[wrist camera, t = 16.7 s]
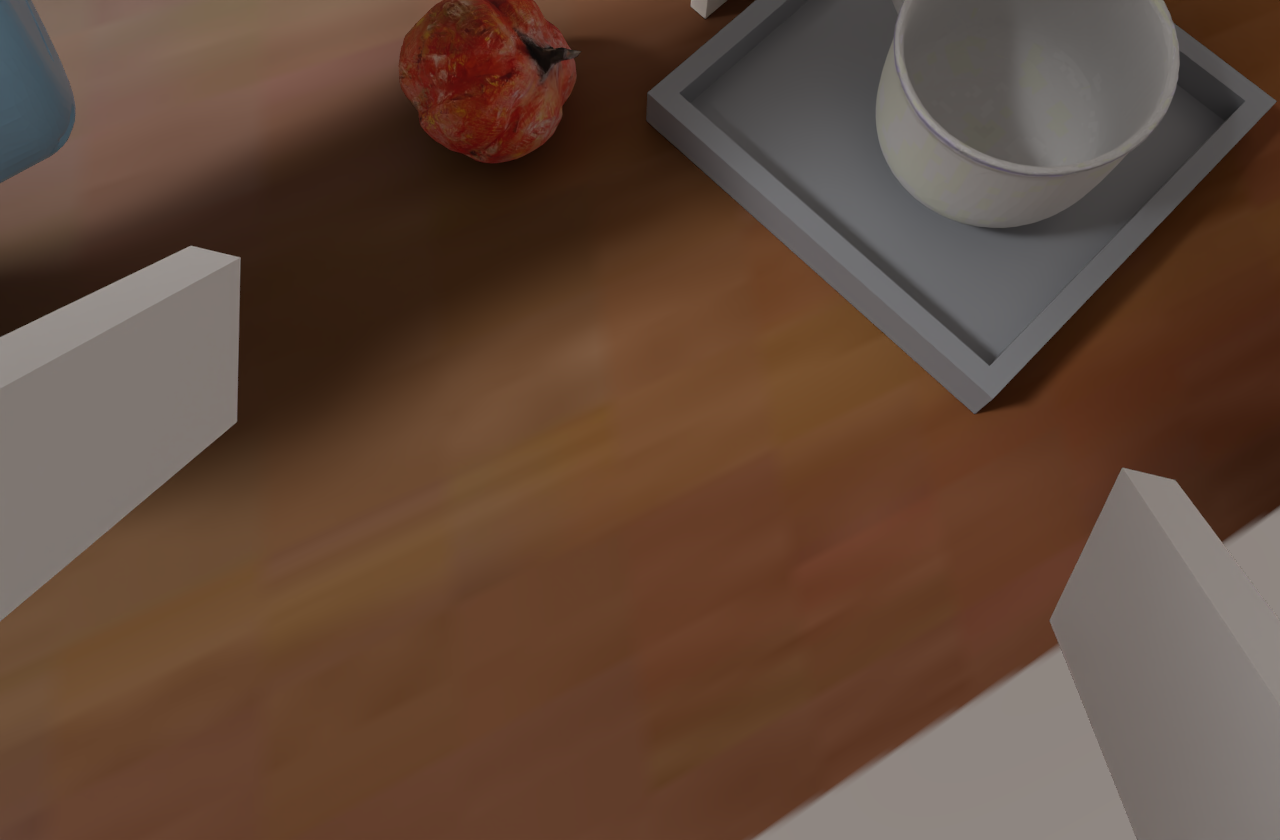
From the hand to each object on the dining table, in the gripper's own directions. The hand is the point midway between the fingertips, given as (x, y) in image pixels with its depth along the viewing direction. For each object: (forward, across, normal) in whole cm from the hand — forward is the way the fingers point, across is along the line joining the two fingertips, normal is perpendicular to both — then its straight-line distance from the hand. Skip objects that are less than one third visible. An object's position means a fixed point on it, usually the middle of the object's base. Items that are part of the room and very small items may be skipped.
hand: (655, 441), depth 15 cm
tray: (+36, +9, +1) cm, 38 cm away
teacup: (+36, +10, +1) cm, 37 cm away
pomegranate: (+34, -11, -3) cm, 36 cm away
